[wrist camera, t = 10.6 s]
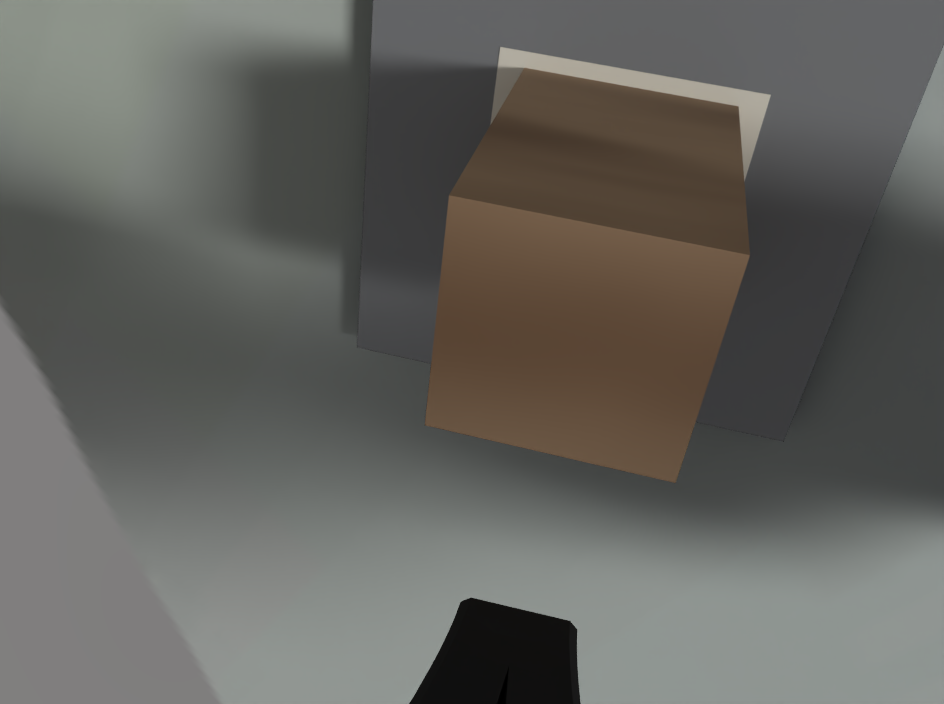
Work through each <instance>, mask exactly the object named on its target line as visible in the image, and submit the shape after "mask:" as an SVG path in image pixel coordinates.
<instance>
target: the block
mask: <svg viewBox="0 0 944 704" xmlns="http://www.w3.org/2000/svg"><path fill="white" fill-rule="evenodd" d="M749 257H750V249H749V236H748V223H747V210H746V197H745V184H744V171H743V158H742V145H741V131H740V118H739V106H734V105H728V104H723V103H717V102H712V101H706V100H701V99H695V98H690V97H684V96H679V95H673V94H668V93H662V92H656V91H651V90H645V89H640V88H634V87H629V86H623V85H618V84H612V83H607V82H601V81H596V80H590V79H585V78H579V77H574V76H568V75H562V74H557V73H551V72H546V71H540V70H535V69H529V68H524V69H523V71H522V73H521V74H520V76H519V78H518V79H517V81H516V83H515V84H514V86H513V88H512V89H511V91H510V93H509V95H508V96H507V98H506V100H505V101H504V103H503V105H502V106H501V108H500V110H499V111H498V113H497V115H496V117H495V118H494V120H493V122H492V123H491V125H490V127H489V128H488V130H487V132H486V134H485V135H484V137H483V139H482V140H481V142H480V144H479V145H478V147H477V149H476V150H475V152H474V154H473V156H472V157H471V159H470V161H469V162H468V164H467V166H466V167H465V169H464V171H463V172H462V174H461V176H460V178H459V179H458V181H457V183H456V184H455V186H454V188H453V189H452V191H451V193H450V194H449V201H448V210H447V219H446V229H445V238H444V248H443V257H442V267H441V276H440V286H439V295H438V304H437V314H436V323H435V333H434V342H433V352H432V361H431V371H430V380H429V389H428V399H427V408H426V418H425V425H426V426H430V427H435V428H439V429H443V430H448V431H452V432H456V433H461V434H465V435H469V436H474V437H478V438H482V439H487V440H491V441H495V442H500V443H504V444H508V445H513V446H517V447H521V448H526V449H530V450H535V451H539V452H543V453H548V454H552V455H556V456H561V457H565V458H569V459H574V460H578V461H582V462H587V463H591V464H595V465H600V466H604V467H608V468H613V469H617V470H621V471H626V472H630V473H634V474H639V475H643V476H647V477H652V478H656V479H660V480H665V481H669V482H673V483H676V480H677V477H678V474H679V471H680V468H681V465H682V462H683V459H684V456H685V453H686V450H687V447H688V444H689V441H690V437H691V434H692V431H693V428H694V425H695V422H696V419H697V416H698V413H699V410H700V407H701V404H702V401H703V398H704V395H705V392H706V388H707V385H708V382H709V379H710V376H711V373H712V370H713V367H714V364H715V361H716V358H717V355H718V352H719V349H720V346H721V343H722V339H723V336H724V333H725V330H726V327H727V324H728V321H729V318H730V315H731V312H732V309H733V306H734V303H735V300H736V297H737V294H738V290H739V287H740V284H741V281H742V278H743V275H744V272H745V269H746V266H747V263H748V260H749Z"/></svg>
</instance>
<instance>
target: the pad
mask: <svg viewBox="0 0 944 704" xmlns="http://www.w3.org/2000/svg"><path fill="white" fill-rule="evenodd" d="M943 45H944V0H373V14H372V36H371V58H370V79H369V101H368V122H367V144H366V166H365V187H364V209H363V231H362V252H361V274H360V295H359V317H358V339H357V347H358V348H363V349H367V350H372V351H376V352H381V353H385V354H390V355H394V356H399V357H403V358H408V359H412V360H417V361H422V362H426V363H431V361H432V352H433V342H434V333H435V323H436V314H437V304H438V295H439V286H440V276H441V267H442V257H443V248H444V238H445V229H446V219H447V210H448V201H449V194H450V193H451V191H452V189H453V188H454V186H455V184H456V183H457V181H458V179H459V178H460V176H461V174H462V172H463V171H464V169H465V167H466V166H467V164H468V162H469V161H470V159H471V157H472V156H473V154H474V152H475V150H476V149H477V147H478V145H479V144H480V142H481V140H482V139H483V137H484V135H485V134H486V132H487V130H488V128H489V127H490V125H491V123H492V122H493V120H494V118H495V117H496V115H497V113H498V111H499V110H500V108H501V106H502V105H503V103H504V101H505V100H506V98H507V96H508V95H509V93H510V91H511V89H512V88H513V86H514V84H515V83H516V81H517V79H518V78H519V76H520V74H521V73H522V71H523V69H524V68H529V69H535V70H540V71H546V72H551V73H557V74H562V75H568V76H574V77H579V78H585V79H590V80H596V81H601V82H607V83H612V84H618V85H623V86H629V87H634V88H640V89H645V90H651V91H656V92H662V93H668V94H673V95H679V96H684V97H690V98H695V99H701V100H706V101H712V102H717V103H723V104H728V105H734V106H739V118H740V131H741V145H742V158H743V171H744V184H745V197H746V210H747V223H748V236H749V249H750V257H749V260H748V263H747V266H746V269H745V272H744V275H743V278H742V281H741V284H740V287H739V290H738V294H737V297H736V300H735V303H734V306H733V309H732V312H731V315H730V318H729V321H728V324H727V327H726V330H725V333H724V336H723V339H722V343H721V346H720V349H719V352H718V355H717V358H716V361H715V364H714V367H713V370H712V373H711V376H710V379H709V382H708V385H707V388H706V392H705V395H704V398H703V401H702V404H701V407H700V410H699V413H698V416H697V419H696V422H697V423H702V424H706V425H711V426H716V427H720V428H725V429H729V430H734V431H738V432H743V433H747V434H752V435H756V436H761V437H765V438H770V439H774V440H779V441H783V442H784V439H785V437H786V435H787V432H788V430H789V427H790V425H791V422H792V420H793V417H794V415H795V412H796V410H797V407H798V405H799V402H800V400H801V397H802V395H803V392H804V390H805V387H806V385H807V382H808V380H809V377H810V375H811V373H812V370H813V368H814V365H815V363H816V360H817V358H818V355H819V353H820V350H821V348H822V345H823V343H824V340H825V338H826V335H827V333H828V330H829V328H830V325H831V323H832V320H833V318H834V315H835V313H836V311H837V308H838V306H839V303H840V301H841V298H842V296H843V293H844V291H845V288H846V286H847V283H848V281H849V278H850V276H851V273H852V271H853V268H854V266H855V263H856V261H857V258H858V256H859V253H860V251H861V249H862V246H863V244H864V241H865V239H866V236H867V234H868V231H869V229H870V226H871V224H872V221H873V219H874V216H875V214H876V211H877V209H878V206H879V204H880V201H881V199H882V196H883V194H884V191H885V189H886V187H887V184H888V182H889V179H890V177H891V174H892V172H893V169H894V167H895V164H896V162H897V159H898V157H899V154H900V152H901V149H902V147H903V144H904V142H905V139H906V137H907V134H908V132H909V129H910V127H911V125H912V122H913V120H914V117H915V115H916V112H917V110H918V107H919V105H920V102H921V100H922V97H923V95H924V92H925V90H926V87H927V85H928V82H929V80H930V77H931V75H932V72H933V70H934V67H935V65H936V63H937V60H938V58H939V55H940V53H941V50H942V48H943Z"/></svg>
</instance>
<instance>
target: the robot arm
mask: <svg viewBox="0 0 944 704" xmlns="http://www.w3.org/2000/svg"><path fill="white" fill-rule="evenodd" d="M409 704H580V694H579V684H578V669H577V629H576V628H575V626H574V625H573V624H572V623H571V622H570V621H568V620H563V619H559V618H555V617H551V616H546V615H542V614H538V613H534V612H529V611H525V610H521V609H517V608H512V607H508V606H504V605H500V604H496V603H491V602H487V601H483V600H479V599H474V598H469V599H467V600H464V601H462V602H461V603H460V605H459V608H458V611H457V613H456V616H455V619H454V621H453V623H452V626H451V628H450V630H449V632H448V634H447V636H446V638H445V641H444V643H443V645H442V647H441V649H440V651H439V653H438V654H437V656H436V658H435V660H434V662H433V664H432V666H431V667H430V669H429V671H428V673H427V674H426V676H425V678H424V680H423V681H422V683H421V685H420V687H419V688H418V690H417V692H416V694H415V695H414V697H413V699H412V700H411V702H410V703H409Z"/></svg>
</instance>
